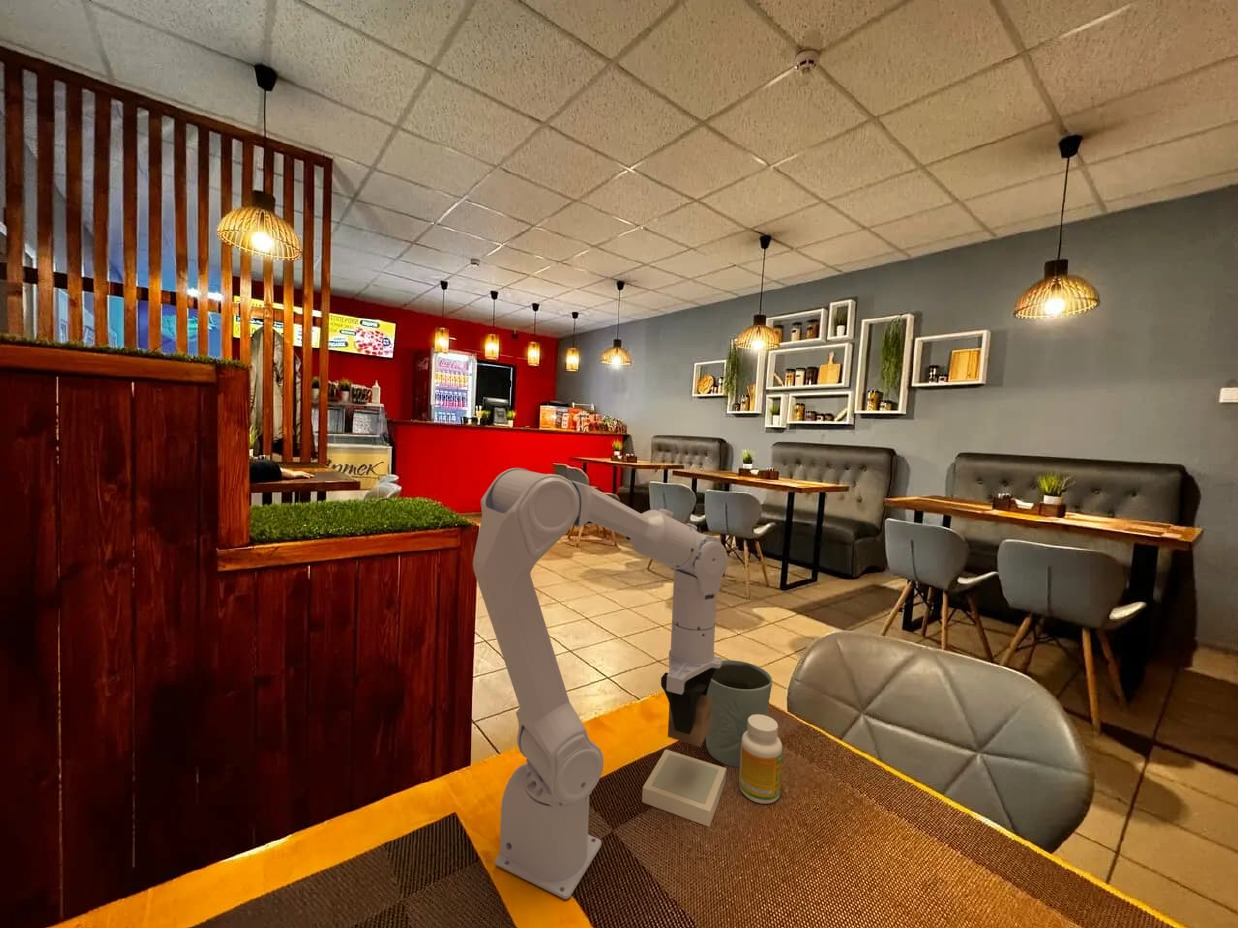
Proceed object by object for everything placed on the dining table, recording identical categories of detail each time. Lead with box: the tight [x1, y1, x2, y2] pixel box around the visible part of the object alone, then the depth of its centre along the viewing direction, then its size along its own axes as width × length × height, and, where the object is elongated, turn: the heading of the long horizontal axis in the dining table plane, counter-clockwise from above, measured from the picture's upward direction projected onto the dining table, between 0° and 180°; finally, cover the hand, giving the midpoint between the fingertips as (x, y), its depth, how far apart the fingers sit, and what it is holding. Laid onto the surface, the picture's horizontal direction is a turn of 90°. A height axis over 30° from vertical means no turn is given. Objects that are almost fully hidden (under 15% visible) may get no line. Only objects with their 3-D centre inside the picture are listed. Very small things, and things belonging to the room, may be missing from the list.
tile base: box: [641, 749, 727, 828], centre depth 67 cm, size 9×9×2 cm
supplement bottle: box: [738, 714, 783, 804], centre depth 67 cm, size 5×5×10 cm
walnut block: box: [667, 695, 712, 748], centre depth 66 cm, size 4×4×4 cm
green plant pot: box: [705, 659, 773, 768], centre depth 76 cm, size 10×10×12 cm
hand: (688, 721), depth 66 cm, fingers closed on walnut block, 4 cm apart
